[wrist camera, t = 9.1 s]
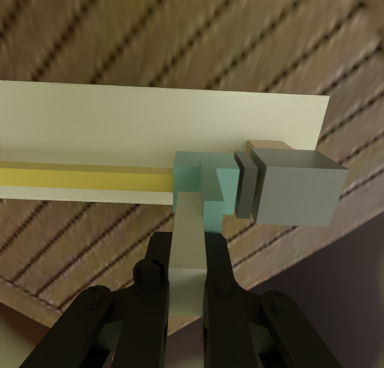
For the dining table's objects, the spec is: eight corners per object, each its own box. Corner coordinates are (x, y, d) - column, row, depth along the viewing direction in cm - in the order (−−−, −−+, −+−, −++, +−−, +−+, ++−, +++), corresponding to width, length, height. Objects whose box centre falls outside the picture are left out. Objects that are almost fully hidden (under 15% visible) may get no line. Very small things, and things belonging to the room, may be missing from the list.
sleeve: (176, 145, 20) (163, 199, 11) (232, 148, 20) (264, 203, 11) (175, 195, 22) (164, 273, 13) (226, 196, 22) (249, 276, 13)
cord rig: (-63, 77, 24) (-277, 74, 13) (323, 95, 25) (428, 107, 14) (-18, 192, 30) (-140, 258, 19) (294, 205, 31) (351, 275, 20)
